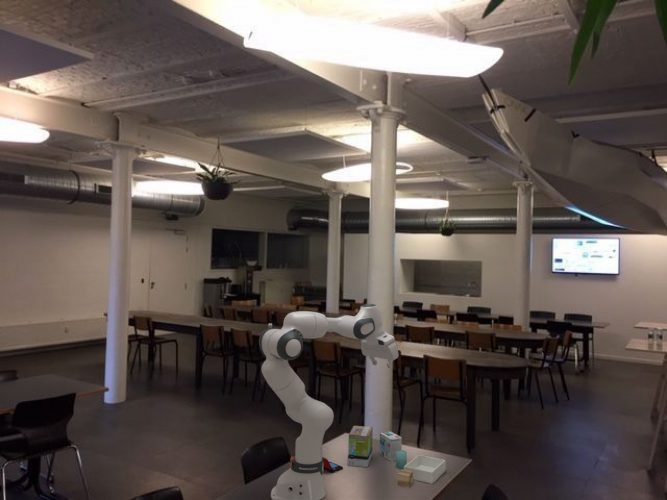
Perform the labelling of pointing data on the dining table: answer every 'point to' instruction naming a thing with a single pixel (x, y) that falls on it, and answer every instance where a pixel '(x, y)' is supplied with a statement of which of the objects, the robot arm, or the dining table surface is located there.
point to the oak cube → (405, 478)
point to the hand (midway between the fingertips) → (382, 366)
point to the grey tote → (426, 468)
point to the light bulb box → (390, 445)
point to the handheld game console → (331, 466)
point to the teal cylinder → (401, 459)
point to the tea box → (360, 446)
